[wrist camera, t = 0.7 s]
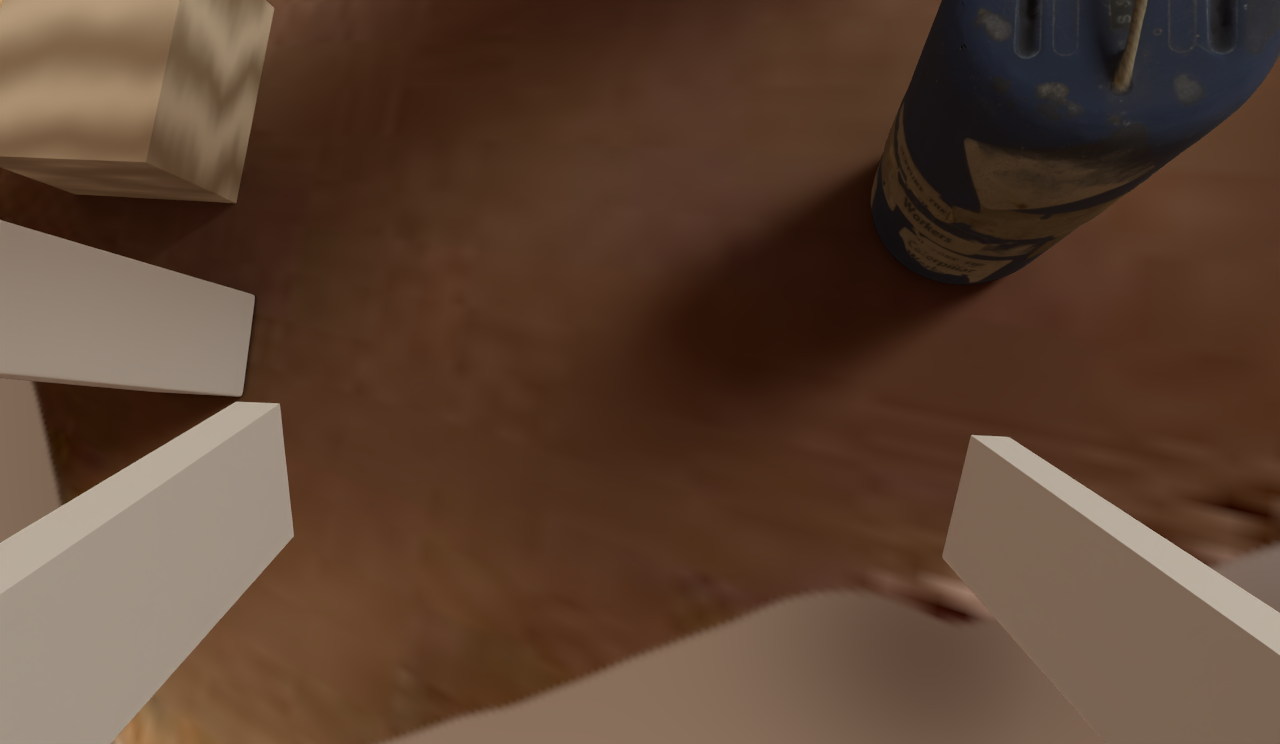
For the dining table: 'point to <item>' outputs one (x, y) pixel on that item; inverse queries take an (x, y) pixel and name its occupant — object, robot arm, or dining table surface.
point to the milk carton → (116, 320)
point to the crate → (131, 94)
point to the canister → (1053, 119)
